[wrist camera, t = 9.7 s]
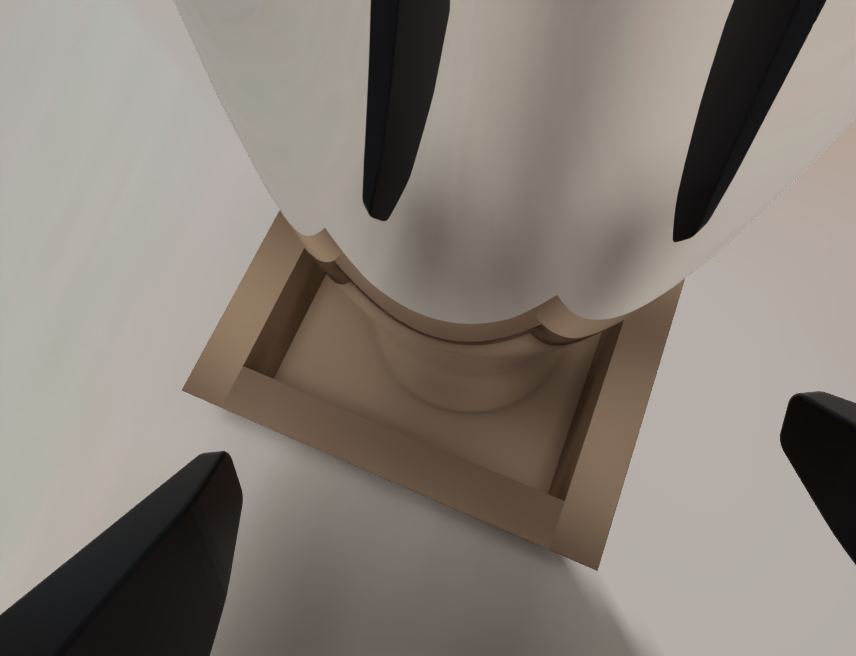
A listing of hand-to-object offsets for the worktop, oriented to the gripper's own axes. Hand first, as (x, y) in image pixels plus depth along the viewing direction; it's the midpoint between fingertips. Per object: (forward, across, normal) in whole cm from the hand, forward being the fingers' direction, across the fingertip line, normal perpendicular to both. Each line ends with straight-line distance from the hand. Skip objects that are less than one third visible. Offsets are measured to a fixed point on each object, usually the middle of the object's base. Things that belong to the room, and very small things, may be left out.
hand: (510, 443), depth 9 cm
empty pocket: (+9, 0, +2) cm, 9 cm away
